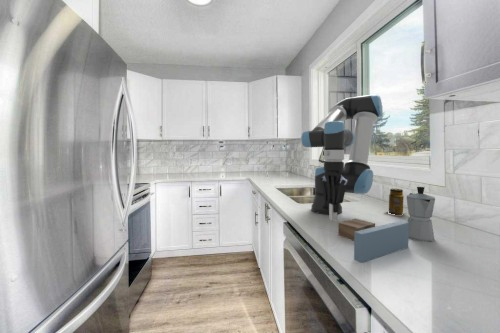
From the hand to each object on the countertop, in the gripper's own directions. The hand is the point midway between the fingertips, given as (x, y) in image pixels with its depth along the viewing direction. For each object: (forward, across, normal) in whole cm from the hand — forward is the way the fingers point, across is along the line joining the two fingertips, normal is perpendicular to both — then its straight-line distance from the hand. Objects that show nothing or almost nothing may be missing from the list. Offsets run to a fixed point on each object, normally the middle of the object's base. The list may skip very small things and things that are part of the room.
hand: (332, 219), depth 98 cm
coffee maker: (+3, +22, +19) cm, 29 cm away
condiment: (+3, -1, +43) cm, 43 cm away
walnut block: (+4, +11, 0) cm, 11 cm away
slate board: (+4, +25, -6) cm, 26 cm away
